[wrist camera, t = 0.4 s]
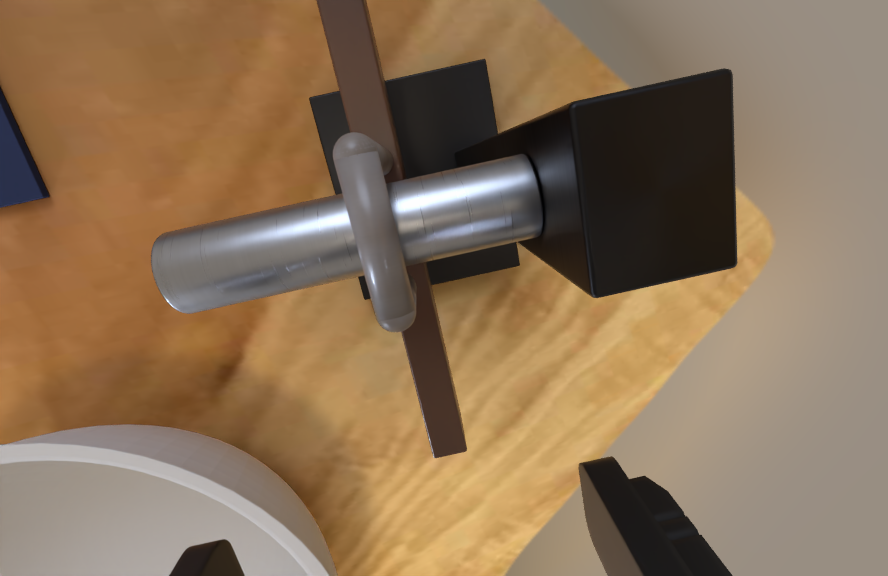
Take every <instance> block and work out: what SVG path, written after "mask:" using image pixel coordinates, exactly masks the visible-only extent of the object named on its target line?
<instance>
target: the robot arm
mask: <svg viewBox="0 0 888 576" xmlns="http://www.w3.org/2000/svg"><path fill="white" fill-rule="evenodd" d="M579 475H580V482H581V488H582V496H583V503H584V510H585V516H586V522H587V525H588V529H589V533H590V536H591V539H592V542H593V544H594V547H595V549H596V551H597V553H598V555H599V558H600V560H601V562H602V564H603V566H604V569H605V571H606V573H607V575H608V576H732V574H731V573H730V572H729V571H728V569H727V568H726V567H725V565H724V564H723V563H722V561H721V560H720V559H719V558H718V556H717V555H716V554H715V552H714V551H713V550H712V549H711V547H710V546H709V544H708V543H707V542H706V541H705V539H704V538H703V537H702V535H699V533H698V531H697V529H696V528H695V526H694V525H693V524H692V522H691V521H690V520H689V518H688V517H687V516H685V515H684V512H683V511H682V509H681V508H680V507H679V506H678V504H677V503H676V502H675V500H674V499H673V498H672V496H671V495H670V494H669V492H668V491H667V490H665V489H664V488H662V487H661V486H659V485H657V484H656V483H655V482H653V481H652V480H650V479H649V478H647V477H646V476H642V477H637V478H633V479H628V477H627V476H626V474H625V473H624V471H623V470H622V468H621V467H620V465H619V464H618V462H617V461H616V460H615V458H613V457H606V458H601V459H597V460H592V461H588V462H583V463H579ZM169 576H245V575H244V572H243V570H242V568H241V566H240V563H239V561H238V559H237V557H236V554H235V552H234V550H233V547H232V545H231V543H230V542H229V541H228V540H226V539H222V540H217V541H213V542H208V543H203V544H199V545H194V546H190V547H188V548H187V549H186V550H185V551H184V552H183V554H182V555H181V557H180V558H179V560H178V562H177V563H176V565H175V567H174V568H173V570H172V572H171V573H170V575H169Z"/></svg>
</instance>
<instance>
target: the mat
mask: <svg viewBox="0 0 888 576" xmlns="http://www.w3.org/2000/svg"><path fill="white" fill-rule="evenodd" d="M46 197H49V194H48V192H47V189H46V187H45V185H44V183H43V181H42V178H41V176H40V174H39V172H38V170H37V167H36V165H35V163H34V161H33V159H32V156H31V154H30V152H29V150H28V148H27V145H26V143H25V141H24V139H23V137H22V134H21V132H20V130H19V128H18V126H17V124H16V121H15V119H14V117H13V115H12V113H11V110H10V108H9V106H8V104H7V102H6V99H5V97H4V95H3V93H2V91H1V88H0V208H1V207H6V206H10V205H15V204H19V203H24V202H28V201H33V200H37V199H42V198H46Z"/></svg>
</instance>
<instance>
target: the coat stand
mask: <svg viewBox="0 0 888 576" xmlns="http://www.w3.org/2000/svg"><path fill="white" fill-rule="evenodd" d="M385 85H386V89H387V93H388V98H389V102H390V107H391V111H392V115H393V120H394V124H395V128H396V133H397V137H398V142H399V146H400V150H401V155H402V159H403V163H404V168H405V172H406V177H407V179H406V180H401V181H397V182H392V183H388V184H386V187H387V191H388V195H389V199H390V203H391V207H392V212H393V216H394V220H395V224H396V228H397V232H398V236H399V240H400V245H401V249H402V253H403V257H404V261H405V265H406V266H409V265H413V264H418V263H422V262H426V264H427V268H428V273H429V277H430V282H431V285H435V284H439V283H444V282H448V281H453V280H457V279H462V278H466V277H471V276H475V275H480V274H484V273H489V272H493V271H498V270H503V269H507V268H512V267H516V266H519V265H520V262H519V256H518V250H517V244H516V242H518V243H519V244H521V245H522V246H523V247H525V248H526V249H527V250H529V251H530V252H532V253H533V254H534V255H536V256H537V257H538V258H540V259H541V260H542V261H544V262H545V263H546V264H548V265H549V266H551V267H552V268H553V269H555V270H556V271H557V272H559V273H560V274H561V275H563V276H564V277H565V278H567V279H568V280H570V281H571V282H572V283H574V284H575V285H576V286H578V287H579V288H580V289H582V290H583V291H584V292H586V293H587V294H589V295H590V296H591V297H593V298H599V297H604V296H609V295H613V294H618V293H622V292H627V291H631V290H636V289H640V288H645V287H649V286H654V285H658V284H663V283H667V282H672V281H676V280H681V279H685V278H690V277H695V276H699V275H704V274H708V273H713V272H717V271H722V270H726V269H731V268H734V267H735V266H736V265H737V234H736V194H735V156H734V119H733V117H734V116H733V76H732V72H731V70H729V69H719V70H715V71H710V72H706V73H701V74H697V75H693V76H688V77H683V78H679V79H674V80H669V81H665V82H660V83H656V84H652V85H647V86H643V87H638V88H633V89H629V90H624V91H620V92H615V93H610V94H606V95H601V96H597V97H592V98H588V99H583V100H579V101H574V102H571V103H569V104H567V105H564V106H562V107H560V108H557V109H555V110H553V111H550V112H548V113H546V114H544V115H541V116H539V117H537V118H534V119H532V120H530V121H527V122H525V123H523V124H520V125H518V126H516V127H513V128H511V129H509V130H506V131H504V132H502V133H499V134H498V131H497V125H496V119H495V113H494V107H493V101H492V95H491V89H490V83H489V77H488V71H487V65H486V60H485V59H482V60H477V61H473V62H468V63H464V64H459V65H455V66H450V67H445V68H441V69H436V70H432V71H427V72H423V73H418V74H414V75H409V76H405V77H400V78H396V79H391V80H387V81H385ZM309 100H310V104H311V107H312V111H313V115H314V118H315V122H316V125H317V129H318V133H319V136H320V140H321V144H322V147H323V151H324V154H325V158H326V162H327V165H328V169H329V173H330V176H331V180H332V184H333V187H334V191H335V194H336V195H333V196H329V197H324V198H320V199H315V200H311V201H306V202H301V203H297V204H292V205H288V206H283V207H279V208H274V209H270V210H265V211H261V212H256V213H252V214H247V215H243V216H238V217H234V218H229V219H224V220H220V221H215V222H211V223H206V224H202V225H197V226H193V227H188V228H184V229H179V230H175V231H170V232H166V233H163V234H162V235H160V236H159V237H158V238H157V239H156V241H155V242H154V245H153V248H152V253H151V265H152V271H153V275H154V279H155V281H156V284H157V286H158V288H159V290H160V292H161V294H162V295H163V297H164V298H165V300H166V301H167V302H168V303H169V304H170V305H171V306H172V307H173V308H175V309H176V310H178V311H180V312H182V313H187V314H191V313H196V312H200V311H205V310H210V309H214V308H219V307H223V306H228V305H232V304H237V303H241V302H246V301H250V300H255V299H259V298H264V297H268V296H273V295H277V294H282V293H287V292H291V291H296V290H300V289H305V288H309V287H314V286H318V285H323V284H327V283H332V282H336V281H341V280H345V279H350V278H354V277H358V278H359V281H360V285H361V289H362V292H363V296H364V299H365V300H367V299H371V297H370V293H369V290H368V286H367V282H366V279H365V275H364V271H363V267H362V264H361V260H360V256H359V253H358V249H357V245H356V242H355V238H354V234H353V230H352V227H351V223H350V219H349V216H348V212H347V208H346V205H345V201H344V197H343V193H342V190H341V186H340V182H339V179H338V175H337V171H336V168H335V164H334V160H333V149H334V146H335V144H336V142H337V141H338V139H339V138H340V137H341V136H343V135H345V134H347V133H350V129H349V125H348V121H347V118H346V114H345V110H344V106H343V102H342V98H341V94H340V91H337V92H332V93H328V94H323V95H319V96H314V97H310V98H309Z"/></svg>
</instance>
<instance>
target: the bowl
mask: <svg viewBox="0 0 888 576" xmlns="http://www.w3.org/2000/svg"><path fill="white" fill-rule="evenodd" d="M222 539H226V540H228V541H229V542H230V543H231V545H232V547H233V550H234V552H235V554H236V557H237V559H238V561H239V563H240V566H241V568H242V570H243V572H244V575H245V576H337V572H336V568H335V565H334V562H333V559H332V556H331V554H330V551H329V548H328V546H327V543H326V541H325V539H324V537H323V535H322V533H321V531H320V529H319V527H318V525H317V523H316V521H315V520H314V518H313V516H312V515H311V513H310V512H309V510H308V509H307V507H306V506H305V504H304V503H303V502H302V500H301V499H300V498H299V497H298V495H297V494H296V493H295V492H294V491H293V489H292V488H291V487H290V486H289V485H288V484H287V483H286V482H285V481H284V480H283V479H282V478H281V477H280V476H278V475H277V474H276V473H275V472H274V471H272V470H271V469H270V468H269V467H267V466H266V465H265V464H263V463H262V462H261V461H259V460H257V459H256V458H254V457H253V456H251V455H250V454H248V453H246V452H244V451H242V450H240V449H238V448H237V447H235V446H233V445H230V444H228V443H225V442H223V441H221V440H218V439H215V438H212V437H209V436H206V435H203V434H199V433H196V432H191V431H187V430H182V429H178V428H171V427H163V426H153V425H133V424H125V425H103V426H92V427H85V428H77V429H70V430H63V431H58V432H54V433H49V434H45V435H40V436H36V437H32V438H27V439H23V440H20V441H16V442H13V443H9V444H4V445H0V576H169V575H170V573H171V572H172V570H173V568H174V567H175V565H176V563H177V562H178V560H179V558H180V557H181V555H182V554H183V552H184V551H185V550H186V549H187V548H188V547H190V546H194V545H199V544H203V543H208V542H213V541H217V540H222Z"/></svg>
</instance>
